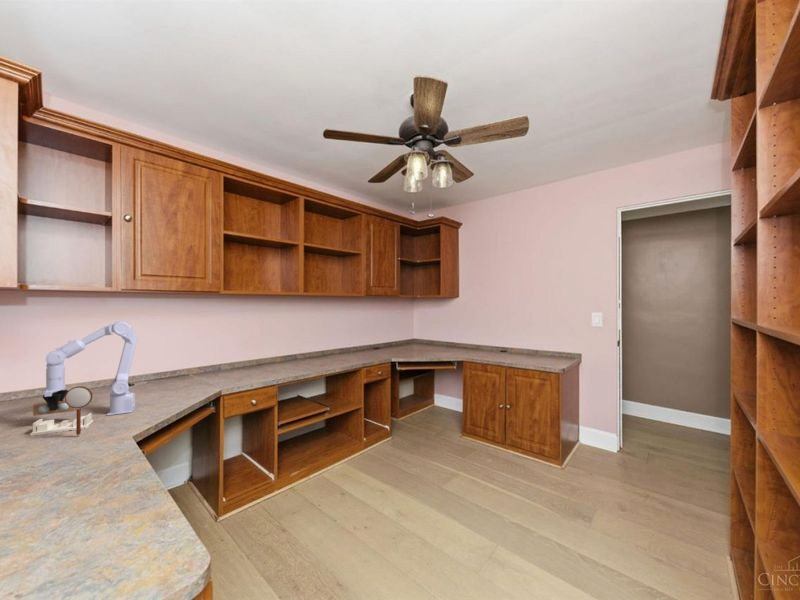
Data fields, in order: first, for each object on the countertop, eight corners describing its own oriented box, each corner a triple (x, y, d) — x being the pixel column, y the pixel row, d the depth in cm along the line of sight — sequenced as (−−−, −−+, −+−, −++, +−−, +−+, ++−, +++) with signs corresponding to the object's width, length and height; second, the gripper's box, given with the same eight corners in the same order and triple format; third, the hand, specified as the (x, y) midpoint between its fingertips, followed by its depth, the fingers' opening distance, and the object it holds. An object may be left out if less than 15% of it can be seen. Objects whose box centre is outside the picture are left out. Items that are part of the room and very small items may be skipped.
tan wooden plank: (76, 409, 153) (76, 399, 153) (73, 411, 149) (73, 401, 149) (37, 413, 147) (37, 403, 147) (32, 416, 143) (32, 405, 143)
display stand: (93, 421, 150) (93, 411, 150) (85, 428, 142) (85, 418, 142) (41, 428, 142) (41, 417, 142) (30, 435, 134) (30, 424, 134)
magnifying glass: (93, 434, 136) (93, 384, 136) (90, 435, 134) (91, 385, 134) (65, 437, 133) (66, 386, 133) (63, 438, 131) (63, 387, 131)
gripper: (51, 375, 153) (51, 405, 153) (34, 382, 140) (34, 415, 140) (71, 374, 156) (71, 403, 156) (57, 380, 143) (57, 412, 143)
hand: (55, 408), depth 148 cm, fingers closed on tan wooden plank, 4 cm apart
